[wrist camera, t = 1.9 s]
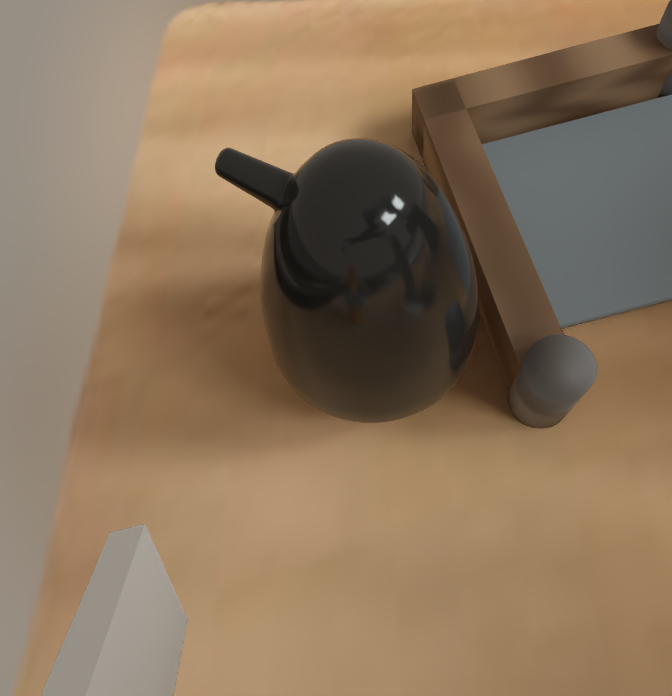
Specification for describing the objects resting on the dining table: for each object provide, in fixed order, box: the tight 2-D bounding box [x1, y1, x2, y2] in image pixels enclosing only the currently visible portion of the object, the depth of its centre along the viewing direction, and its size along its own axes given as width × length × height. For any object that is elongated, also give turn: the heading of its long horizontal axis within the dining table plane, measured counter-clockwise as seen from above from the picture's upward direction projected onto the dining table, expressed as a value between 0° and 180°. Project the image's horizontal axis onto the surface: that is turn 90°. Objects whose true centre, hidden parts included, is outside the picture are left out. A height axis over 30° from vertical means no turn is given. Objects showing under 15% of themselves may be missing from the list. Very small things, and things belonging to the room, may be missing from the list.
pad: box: [482, 95, 672, 328], centre depth 34 cm, size 13×13×1 cm
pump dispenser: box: [215, 138, 479, 423], centre depth 26 cm, size 10×10×15 cm
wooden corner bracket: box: [412, 0, 672, 428], centre depth 32 cm, size 18×21×5 cm
